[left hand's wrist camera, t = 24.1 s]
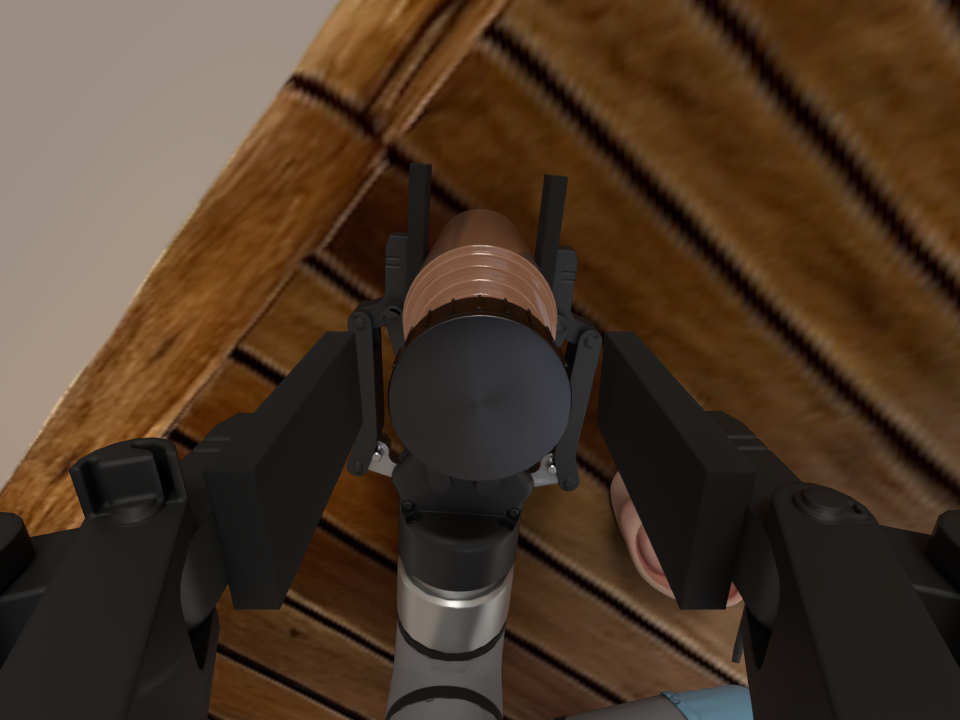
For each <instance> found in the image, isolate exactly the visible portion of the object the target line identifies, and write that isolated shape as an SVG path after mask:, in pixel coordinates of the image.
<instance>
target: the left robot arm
mask: <svg viewBox="0 0 960 720" xmlns="http://www.w3.org/2000/svg"><path fill="white" fill-rule="evenodd" d="M362 424H363V412H362V402H361V391H360V381H359V370H358V359H357V349H356V338H355V332H326V333H325V334H324V335H323V336H322V337H321V339H320V340H319V341H318V342H317V343H316V344H315V345H314V346H313V347H312V349H311V350H310V351H309V352H308V353H307V354H306V355H305V356H304V357H303V359H302V360H301V361H300V362H299V363H298V364H297V365H296V366H295V367H294V369H293V370H292V371H291V372H290V373H289V374H288V375H287V376H286V378H285V379H284V380H283V381H282V382H281V383H280V384H279V385H278V386H277V388H276V389H275V390H274V391H273V392H272V393H271V394H270V395H269V396H268V398H267V399H266V400H265V401H264V402H263V403H262V404H261V405H260V406H259V408H258V409H257V410H256V411H255V412H254V413H238V414H236V415H234V416H232V417H230V418H229V419H227V420H225V421H223V422H221V423H219V424H218V425H217V426H216V427H215V428H214V429H213V430H212V431H211V432H210V433H209V434H208V435H207V436H206V437H205V438H204V441H201V442H200V443H199V444H198V445H197V446H196V447H195V448H194V449H193V452H190V453H189V454H188V455H187V456H186V457H185V458H184V459H183V460H182V461H181V462H179V458H178V454H177V450H176V446H175V444H173V443H172V442H170V441H169V440H167V439H161V438H154V437H152V438H138V439H132V440H127V441H123V442H118V443H114V444H112V445H109V446H106V447H103V448H101V449H98V450H95V451H94V452H92V453H90V454H88V455H86V456H85V457H83V458H81V459H79V460H78V461H77V462H76V463H75V464H74V465H73V466H72V467H71V468H70V469H68V470H69V473H70V475H71V478H72V481H73V484H74V487H75V490H76V493H77V496H78V499H79V502H80V504H81V507H82V510H83V513H84V516H85V520H84V521H83V523H82V525H81V527H80V528H76V529H70V530H65V531H60V532H55V533H50V534H44V535H39V536H34V537H29V534H28V532H27V529H26V527H25V524H24V522H23V519H22V518H21V517H19V516H17V515H16V514H14V513H5V512H0V720H207V715H208V708H209V701H210V693H211V686H212V679H213V672H214V665H215V658H216V651H217V644H218V636H219V629H220V625H219V618H218V614H217V610H216V606H215V605H216V603H217V601H218V600H219V598H220V596H221V595H222V593H223V591H224V590H225V588H226V586H227V585H228V584H229V588H230V592H231V597H232V601H233V605H234V609H280V608H281V606H282V603H283V601H284V599H285V597H286V594H287V592H288V590H289V588H290V585H291V583H292V581H293V579H294V576H295V574H296V572H297V570H298V568H299V565H300V563H301V561H302V559H303V556H304V554H305V552H306V550H307V547H308V545H309V543H310V541H311V538H312V536H313V534H314V532H315V529H316V527H317V525H318V523H319V520H320V518H321V516H322V514H323V511H324V509H325V507H326V505H327V503H328V500H329V498H330V496H331V494H332V491H333V489H334V487H335V485H336V482H337V480H338V478H339V476H340V473H341V471H342V469H343V467H344V464H345V462H346V460H347V458H348V455H349V453H350V451H351V449H352V446H353V444H354V442H355V440H356V438H357V435H358V433H359V431H360V429H361V426H362ZM597 424H598V426H599V429H600V431H601V433H602V435H603V438H604V440H605V442H606V444H607V447H608V449H609V451H610V453H611V455H612V458H613V460H614V462H615V464H616V467H617V469H618V471H619V473H620V476H621V478H622V480H623V482H624V485H625V487H626V489H627V491H628V494H629V496H630V498H631V500H632V503H633V505H634V507H635V509H636V512H637V514H638V516H639V518H640V520H641V523H642V525H643V527H644V529H645V532H646V534H647V536H648V538H649V541H650V543H651V545H652V547H653V550H654V552H655V554H656V556H657V559H658V561H659V563H660V565H661V568H662V570H663V572H664V574H665V577H666V579H667V581H668V583H669V585H670V588H671V590H672V592H673V594H674V597H675V599H676V601H677V603H678V606H679V608H680V609H726V605H727V601H728V597H729V592H730V588H731V584H732V582H733V584H734V585H735V587H736V589H737V590H738V592H739V594H740V595H741V597H742V599H743V600H744V602H745V606H744V610H743V614H742V618H741V622H740V626H739V630H738V634H737V638H736V642H735V646H734V650H733V656H732V662H736V663H739V662H740V658H741V655H742V652H743V651H744V656H745V663H746V671H747V678H748V685H749V692H750V699H751V706H752V713H753V720H960V510H949V511H946V512H944V513H943V514H941V515H939V517H938V519H937V522H936V524H935V527H934V529H933V532H932V534H931V535H928V534H923V533H918V532H913V531H908V530H902V529H897V528H892V527H887V526H882V525H879V524H878V522H877V520H876V519H875V517H874V516H873V515H872V514H871V513H870V511H869V510H868V509H867V508H866V507H865V506H864V505H862V504H861V503H859V502H858V501H856V500H855V499H853V498H852V497H850V496H848V495H846V494H843V493H841V492H839V491H836V490H834V489H832V488H829V487H825V486H821V485H817V484H813V483H803V482H802V481H801V480H800V479H799V478H798V477H797V476H796V475H795V474H794V473H793V472H792V471H791V470H790V469H789V468H788V467H787V466H786V465H785V464H784V463H783V462H782V461H781V460H780V459H779V458H778V457H777V456H776V455H775V454H774V453H773V452H772V451H771V450H768V449H767V448H768V447H767V446H766V445H765V444H764V443H763V442H762V441H761V440H760V439H756V435H755V434H754V433H753V432H752V431H751V430H750V429H749V428H748V427H747V426H746V425H745V424H744V423H742V422H740V421H739V420H737V419H735V418H733V417H731V416H729V415H728V414H726V413H724V412H722V411H704V410H703V409H702V408H701V407H700V405H699V404H698V403H697V402H696V401H695V400H694V399H693V398H692V396H691V395H690V394H689V393H688V392H687V391H686V390H685V389H684V388H683V386H682V385H681V384H680V383H679V382H678V381H677V380H676V379H675V378H674V376H673V375H672V374H671V373H670V372H669V371H668V370H667V369H666V367H665V366H664V365H663V364H662V363H661V362H660V361H659V360H658V359H657V357H656V356H655V355H654V354H653V353H652V352H651V351H650V350H649V349H648V347H647V346H646V345H645V344H644V343H643V342H642V341H641V340H640V339H639V337H638V336H637V335H636V334H635V333H634V332H605V338H604V348H603V359H602V370H601V380H600V391H599V402H598V412H597Z"/></svg>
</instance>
